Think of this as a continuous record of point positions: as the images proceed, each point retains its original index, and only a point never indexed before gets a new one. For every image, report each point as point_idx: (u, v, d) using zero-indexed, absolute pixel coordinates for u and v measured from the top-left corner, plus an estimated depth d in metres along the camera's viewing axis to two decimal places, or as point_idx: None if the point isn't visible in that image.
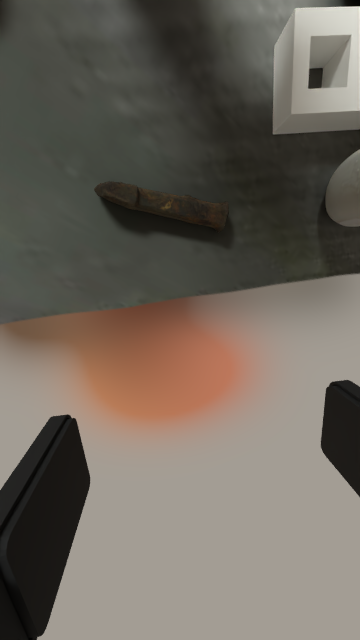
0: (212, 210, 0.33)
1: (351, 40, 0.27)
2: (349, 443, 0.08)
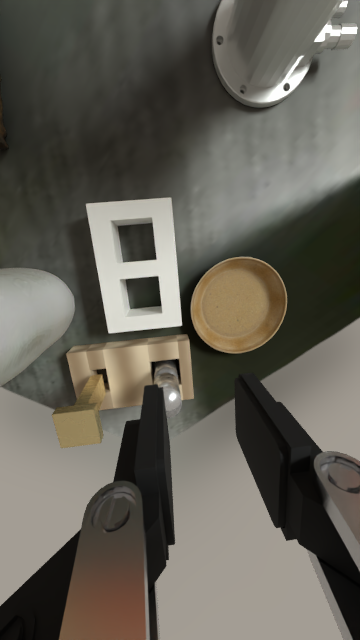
0: None
1: (152, 260, 0.29)
2: (245, 427, 0.09)
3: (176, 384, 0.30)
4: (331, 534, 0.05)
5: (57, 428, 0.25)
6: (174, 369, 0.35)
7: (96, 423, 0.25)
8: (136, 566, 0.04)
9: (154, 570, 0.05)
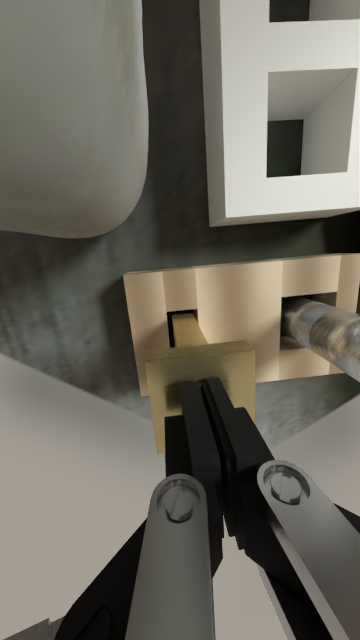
0: None
1: (352, 21, 0.12)
2: None
3: None
4: (279, 551, 0.05)
5: (154, 401, 0.10)
6: None
7: (253, 390, 0.10)
8: (201, 566, 0.04)
9: (215, 562, 0.05)
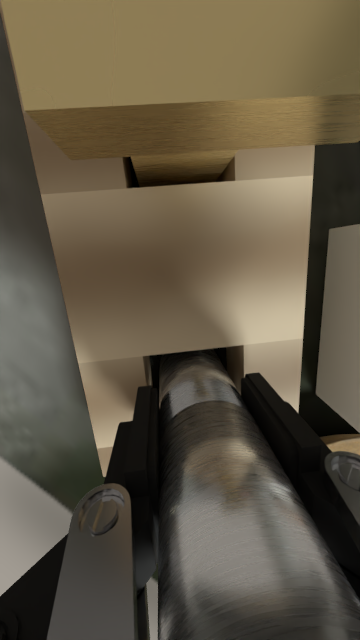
0: None
1: None
2: None
3: None
4: (341, 533, 0.05)
5: None
6: None
7: (279, 95, 0.02)
8: (124, 568, 0.04)
9: (144, 573, 0.05)
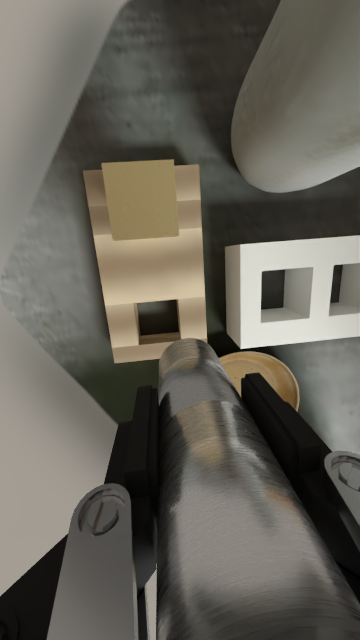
0: None
1: (328, 311, 0.23)
2: None
3: None
4: (341, 533, 0.05)
5: (144, 164, 0.14)
6: None
7: (151, 236, 0.15)
8: (124, 568, 0.04)
9: (143, 573, 0.05)
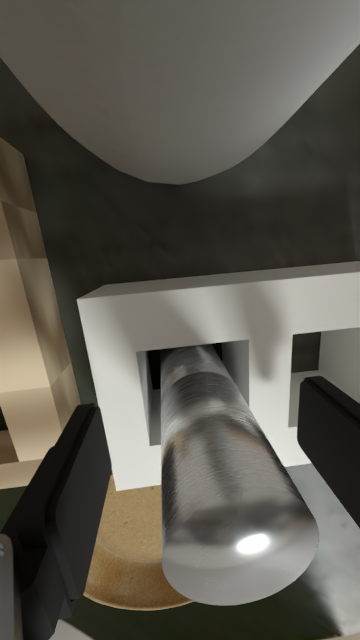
0: None
1: (286, 418, 0.12)
2: (319, 434, 0.08)
3: None
4: None
5: None
6: None
7: None
8: (3, 624, 0.03)
9: None
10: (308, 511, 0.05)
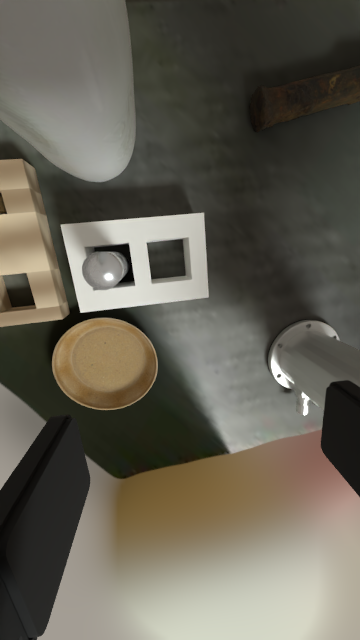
0: (281, 102, 0.26)
1: (150, 279, 0.28)
2: (349, 443, 0.08)
3: None
4: None
5: None
6: None
7: None
8: None
9: None
10: (115, 259, 0.21)
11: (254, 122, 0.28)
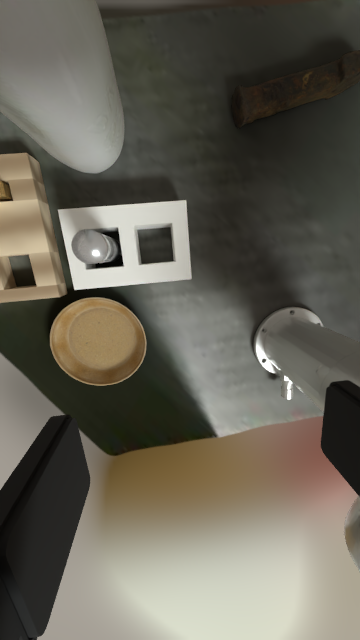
0: (258, 99, 0.29)
1: (137, 261, 0.31)
2: (349, 443, 0.08)
3: (106, 259, 0.28)
4: None
5: None
6: (113, 258, 0.32)
7: None
8: None
9: None
10: (101, 236, 0.24)
11: (236, 119, 0.31)
